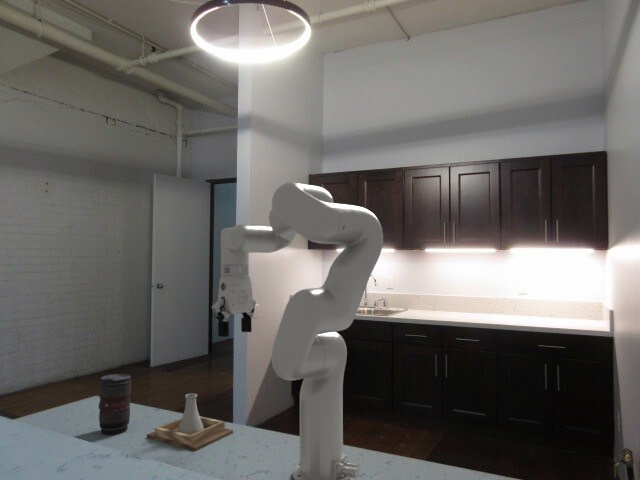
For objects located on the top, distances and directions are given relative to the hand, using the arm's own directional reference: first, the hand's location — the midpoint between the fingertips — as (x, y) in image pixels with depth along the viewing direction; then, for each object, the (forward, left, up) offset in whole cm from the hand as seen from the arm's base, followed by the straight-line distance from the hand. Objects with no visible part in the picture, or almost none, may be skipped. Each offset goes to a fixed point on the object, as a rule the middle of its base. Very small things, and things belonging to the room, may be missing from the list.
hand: (235, 334), depth 126 cm
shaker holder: (+10, +6, -27) cm, 30 cm away
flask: (+10, +6, -27) cm, 29 cm away
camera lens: (+31, +14, -27) cm, 44 cm away
